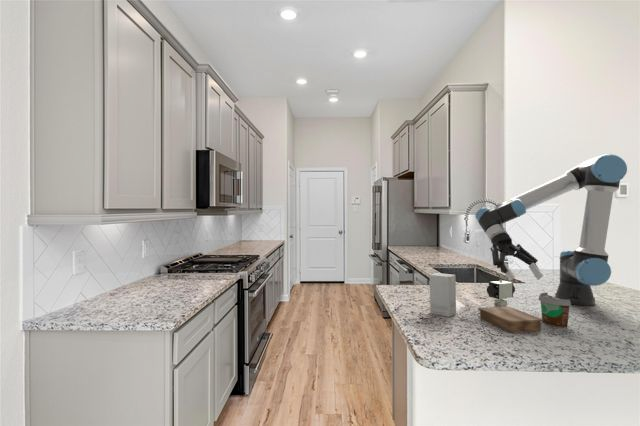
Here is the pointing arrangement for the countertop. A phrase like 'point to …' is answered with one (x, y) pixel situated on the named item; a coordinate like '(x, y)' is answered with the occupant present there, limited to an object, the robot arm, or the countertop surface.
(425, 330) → the countertop surface
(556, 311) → the food container
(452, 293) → the skincare box
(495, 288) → the pneumatic valve
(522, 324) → the stand
